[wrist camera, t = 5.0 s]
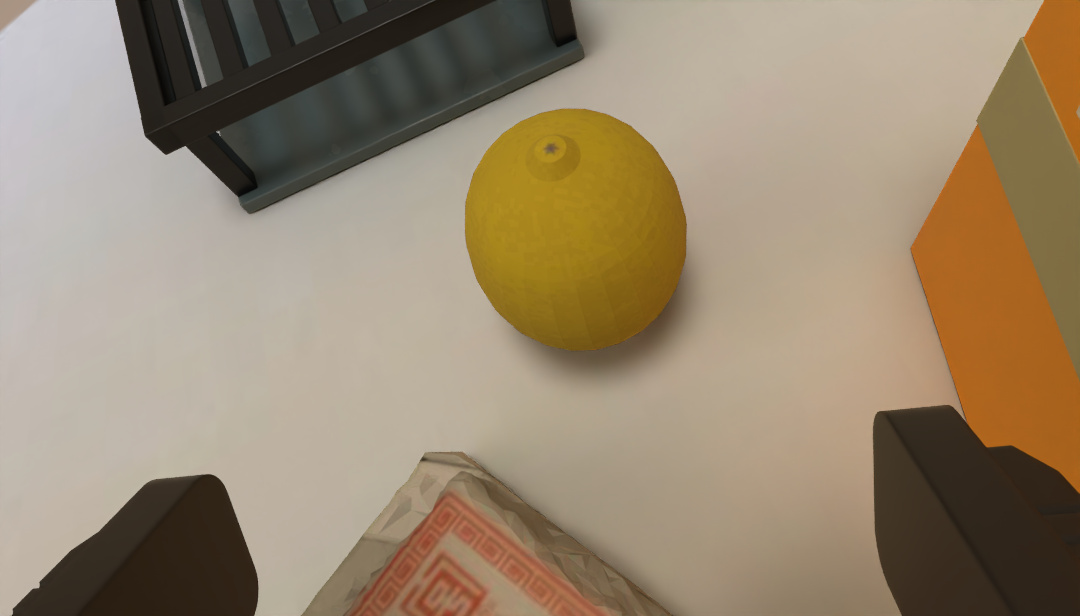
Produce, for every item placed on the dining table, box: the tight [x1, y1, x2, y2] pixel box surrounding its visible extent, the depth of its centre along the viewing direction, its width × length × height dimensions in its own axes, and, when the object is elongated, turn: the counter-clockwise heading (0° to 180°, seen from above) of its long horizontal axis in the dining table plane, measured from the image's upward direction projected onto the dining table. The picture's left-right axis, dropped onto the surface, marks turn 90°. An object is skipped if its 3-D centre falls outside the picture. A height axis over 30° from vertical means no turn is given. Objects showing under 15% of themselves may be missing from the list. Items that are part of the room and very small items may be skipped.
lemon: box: [465, 109, 687, 351], centre depth 20 cm, size 6×6×8 cm
